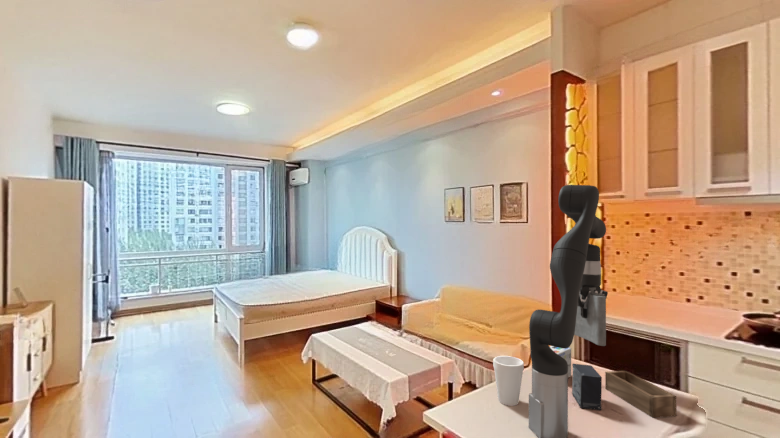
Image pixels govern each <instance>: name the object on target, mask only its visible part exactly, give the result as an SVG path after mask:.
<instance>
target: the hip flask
mask: <svg viewBox="0 0 780 438" xmlns="http://www.w3.org/2000/svg"><path fill="white" fill-rule="evenodd" d="M589 289H590V290H591V292H592V293H591V294H590V300H589V303H588V304H587V308H586V309H587V318H582V316H581V308H580V307H579V306H577V316H576V325H575V333H574V336H577V337H580V338H582V339H584V340H586V341H589V342H591V343H593V344H595V345H597V346H601V347H605V346H607V298H606V296H603V295H601V294H598V293H594V290H596V287H589ZM580 299H581V294H580Z"/></svg>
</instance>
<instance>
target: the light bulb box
mask: <svg viewBox="0 0 780 438" xmlns="http://www.w3.org/2000/svg"><path fill="white" fill-rule="evenodd" d="M549 347H550V348H551V349H552V350H553V351H554V352H555V353H556V354H558V355H559V356H561V357H562V358H564V359H565V360H566V361H567V363H568V378H570V377H572V347H568V348H566V349H565V348H559V347H554V346H550V345H549Z"/></svg>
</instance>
